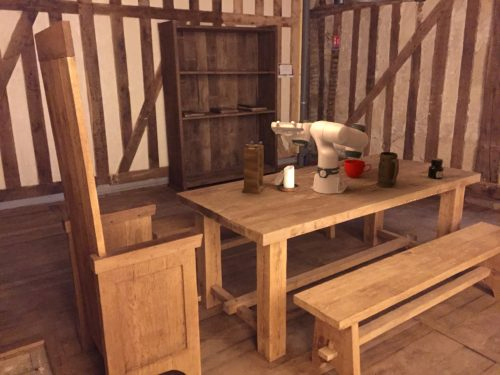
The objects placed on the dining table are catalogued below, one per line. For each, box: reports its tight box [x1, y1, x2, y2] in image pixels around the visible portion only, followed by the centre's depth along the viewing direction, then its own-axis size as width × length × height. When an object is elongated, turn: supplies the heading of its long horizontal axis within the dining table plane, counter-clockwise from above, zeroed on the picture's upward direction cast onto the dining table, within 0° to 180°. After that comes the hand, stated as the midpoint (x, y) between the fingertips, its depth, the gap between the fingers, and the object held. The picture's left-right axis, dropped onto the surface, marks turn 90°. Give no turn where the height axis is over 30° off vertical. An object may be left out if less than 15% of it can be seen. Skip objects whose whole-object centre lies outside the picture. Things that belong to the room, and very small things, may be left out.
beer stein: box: [376, 151, 400, 189], centre depth 258 cm, size 15×11×20 cm
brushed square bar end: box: [274, 170, 284, 186], centre depth 275 cm, size 26×3×3 cm, turn 167°
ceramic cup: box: [343, 159, 372, 179], centre depth 280 cm, size 13×17×10 cm
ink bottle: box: [427, 157, 444, 180], centre depth 280 cm, size 10×9×12 cm
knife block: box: [241, 140, 266, 195], centre depth 247 cm, size 13×10×27 cm
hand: (285, 122), depth 275 cm, fingers open, 8 cm apart
